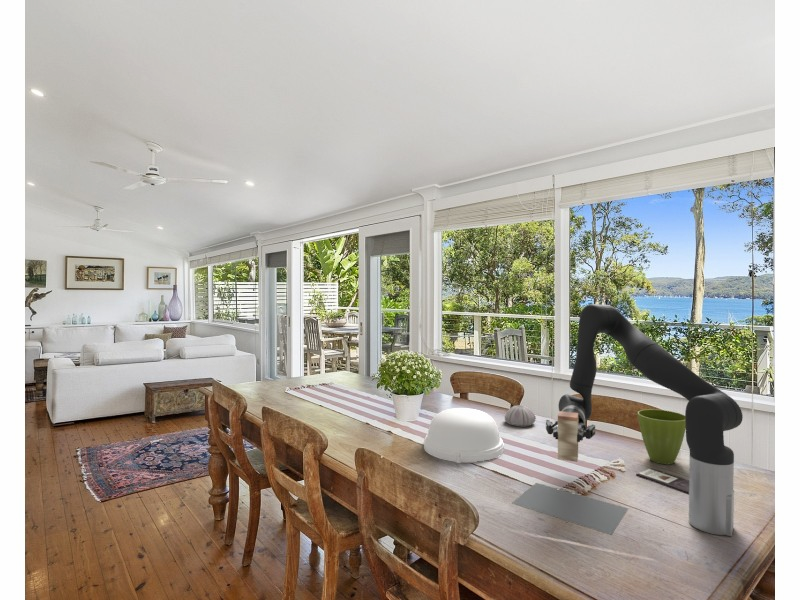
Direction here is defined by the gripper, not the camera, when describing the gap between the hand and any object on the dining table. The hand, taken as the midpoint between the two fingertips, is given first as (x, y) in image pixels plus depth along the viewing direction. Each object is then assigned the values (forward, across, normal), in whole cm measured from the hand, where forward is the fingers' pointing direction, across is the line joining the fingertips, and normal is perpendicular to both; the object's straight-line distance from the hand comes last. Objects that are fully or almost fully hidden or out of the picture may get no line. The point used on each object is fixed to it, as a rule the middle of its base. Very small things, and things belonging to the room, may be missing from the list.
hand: (567, 436), depth 125 cm
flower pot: (-50, +27, +20) cm, 60 cm away
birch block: (-3, 0, +6) cm, 7 cm away
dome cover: (-35, -40, +20) cm, 57 cm away
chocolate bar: (-31, +28, +21) cm, 47 cm away
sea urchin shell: (-75, -25, +20) cm, 81 cm away
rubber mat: (-1, 0, +20) cm, 20 cm away
